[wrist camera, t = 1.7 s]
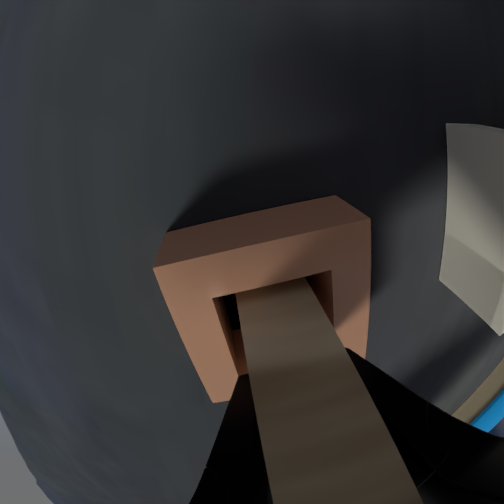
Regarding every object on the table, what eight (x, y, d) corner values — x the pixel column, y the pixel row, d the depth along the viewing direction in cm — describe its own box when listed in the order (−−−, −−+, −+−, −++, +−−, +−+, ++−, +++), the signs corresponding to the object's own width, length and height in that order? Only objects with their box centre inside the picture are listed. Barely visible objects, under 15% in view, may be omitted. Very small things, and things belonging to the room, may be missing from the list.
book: (409, 475, 25) (553, 330, 16) (399, 452, 29) (531, 309, 20) (459, 458, 30) (561, 348, 22) (450, 441, 34) (546, 333, 25)
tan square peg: (297, 302, 14) (408, 559, 3) (243, 315, 13) (303, 593, 3) (291, 254, 12) (445, 554, 2) (231, 268, 12) (297, 608, 2)
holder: (341, 325, 15) (364, 364, 12) (210, 357, 14) (212, 402, 12) (335, 195, 12) (370, 218, 9) (165, 232, 11) (152, 268, 9)
